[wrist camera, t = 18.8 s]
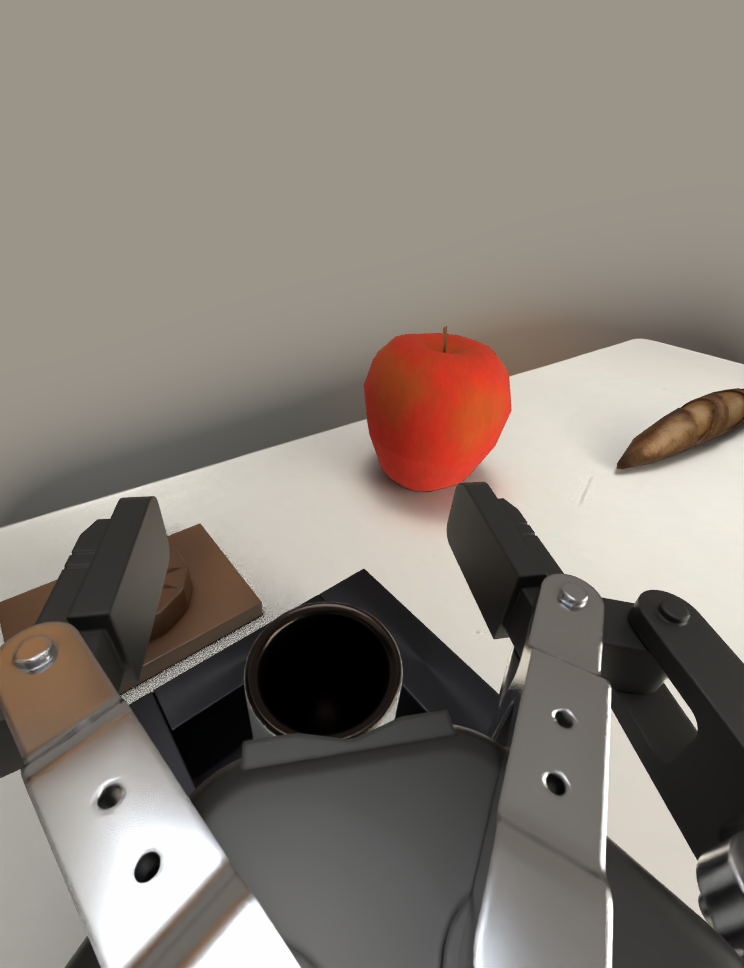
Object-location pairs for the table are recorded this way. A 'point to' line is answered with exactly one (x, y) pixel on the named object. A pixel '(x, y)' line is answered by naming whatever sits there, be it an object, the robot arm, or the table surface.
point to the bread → (686, 428)
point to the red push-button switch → (170, 603)
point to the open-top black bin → (223, 707)
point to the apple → (435, 408)
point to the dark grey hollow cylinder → (322, 673)
